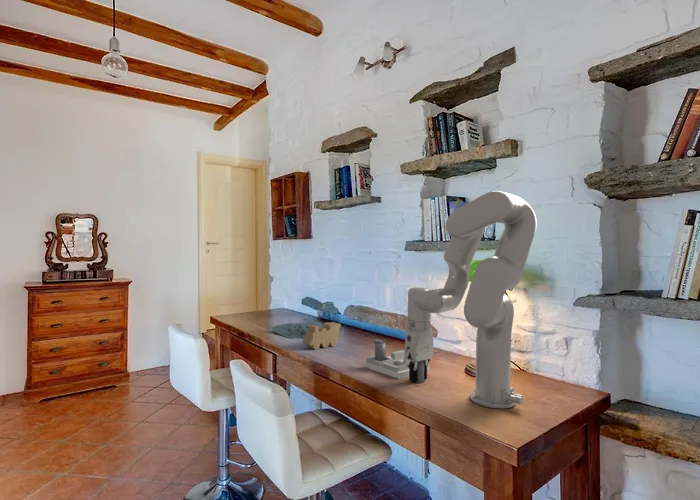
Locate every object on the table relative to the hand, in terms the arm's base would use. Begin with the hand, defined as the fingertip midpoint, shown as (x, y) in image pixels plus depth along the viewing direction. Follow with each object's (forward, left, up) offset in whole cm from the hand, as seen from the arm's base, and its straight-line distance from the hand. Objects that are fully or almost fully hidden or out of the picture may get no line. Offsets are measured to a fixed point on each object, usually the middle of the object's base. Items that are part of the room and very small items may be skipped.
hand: (418, 379), depth 133 cm
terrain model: (+86, -13, -1) cm, 87 cm away
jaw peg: (0, 0, 0) cm, 0 cm away
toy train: (+57, -2, -1) cm, 57 cm away
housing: (+13, -4, 0) cm, 14 cm away
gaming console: (+25, -27, -1) cm, 37 cm away
